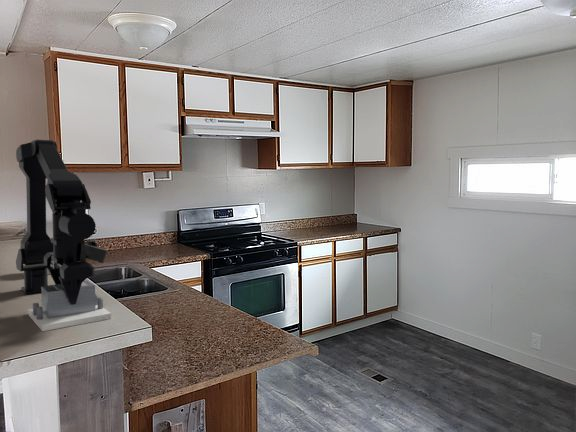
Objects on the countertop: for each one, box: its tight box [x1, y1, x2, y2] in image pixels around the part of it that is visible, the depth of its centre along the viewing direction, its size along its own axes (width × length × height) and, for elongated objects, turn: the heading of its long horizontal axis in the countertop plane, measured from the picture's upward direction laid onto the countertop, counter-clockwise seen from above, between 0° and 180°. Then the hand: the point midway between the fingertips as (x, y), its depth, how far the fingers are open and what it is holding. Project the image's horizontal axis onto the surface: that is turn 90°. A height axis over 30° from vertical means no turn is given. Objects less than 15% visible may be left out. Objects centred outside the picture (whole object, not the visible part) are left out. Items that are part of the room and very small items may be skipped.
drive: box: [41, 279, 96, 319], centre depth 109 cm, size 6×10×6 cm, turn 129°
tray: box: [27, 293, 112, 332], centre depth 109 cm, size 14×14×4 cm
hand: (68, 300), depth 109 cm, fingers open, 7 cm apart
